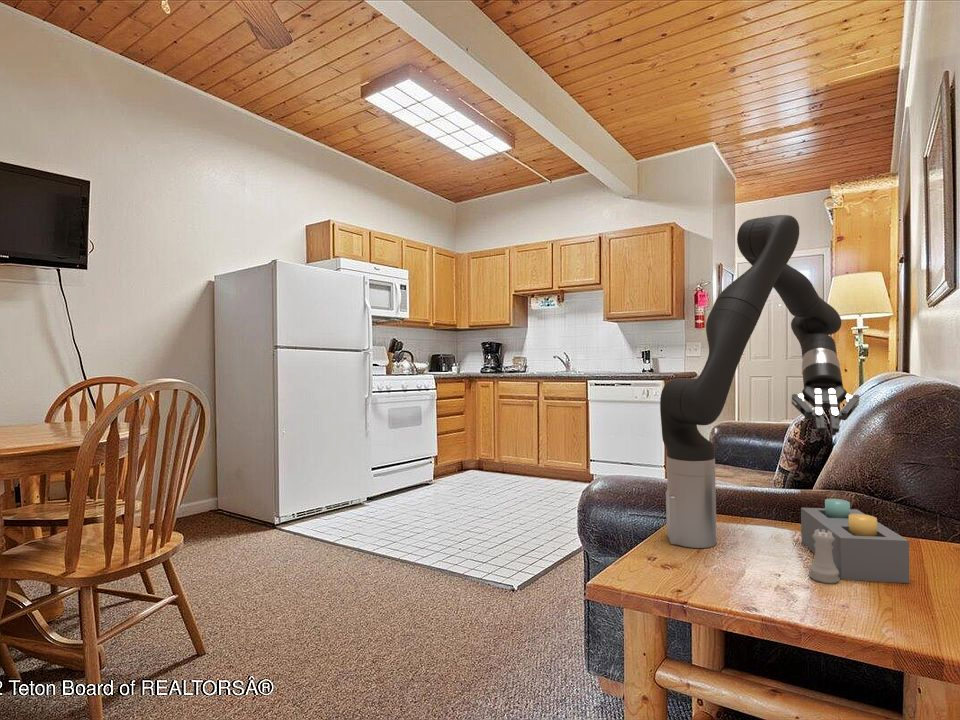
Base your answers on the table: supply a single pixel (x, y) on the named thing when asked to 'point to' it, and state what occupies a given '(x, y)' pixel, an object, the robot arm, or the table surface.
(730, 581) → the table surface
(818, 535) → the rook chess piece
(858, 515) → the amber button
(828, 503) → the teal button
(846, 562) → the console
